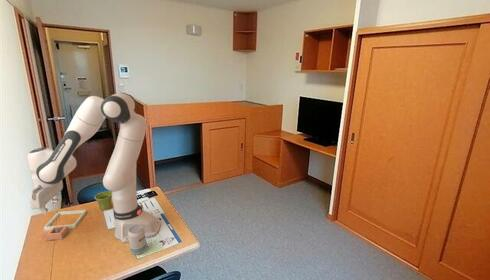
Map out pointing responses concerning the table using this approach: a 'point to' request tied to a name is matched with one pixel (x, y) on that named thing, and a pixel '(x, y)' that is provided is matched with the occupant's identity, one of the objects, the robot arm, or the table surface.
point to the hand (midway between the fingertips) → (50, 207)
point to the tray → (48, 227)
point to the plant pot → (104, 200)
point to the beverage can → (137, 239)
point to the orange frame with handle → (53, 235)
